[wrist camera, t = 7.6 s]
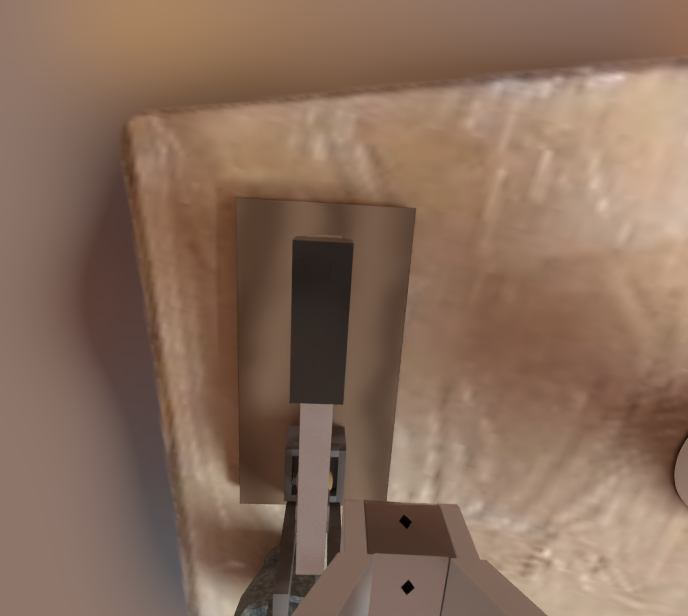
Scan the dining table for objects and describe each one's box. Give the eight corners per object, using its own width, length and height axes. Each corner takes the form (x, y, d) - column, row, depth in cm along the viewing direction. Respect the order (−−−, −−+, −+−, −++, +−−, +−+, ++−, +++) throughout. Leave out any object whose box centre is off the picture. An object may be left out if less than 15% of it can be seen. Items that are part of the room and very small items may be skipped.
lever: (349, 234, 22) (353, 243, 18) (330, 543, 29) (330, 600, 25) (299, 231, 22) (292, 239, 18) (292, 542, 29) (285, 599, 25)
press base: (410, 208, 31) (465, 205, 18) (383, 491, 38) (409, 629, 25) (242, 198, 30) (179, 187, 18) (244, 488, 37) (201, 628, 25)
